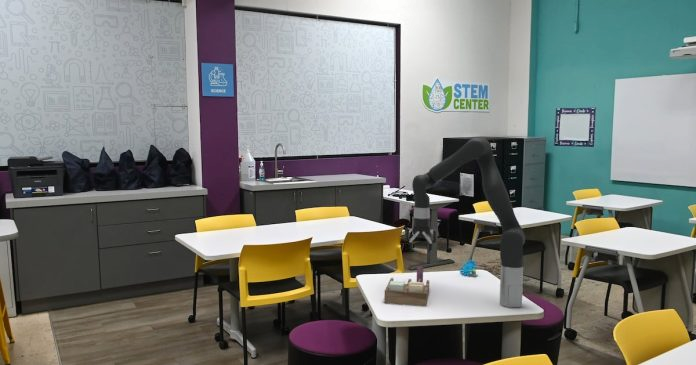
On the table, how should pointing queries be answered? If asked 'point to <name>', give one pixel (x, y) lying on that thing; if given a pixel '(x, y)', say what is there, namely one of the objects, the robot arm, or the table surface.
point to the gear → (468, 268)
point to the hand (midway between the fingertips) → (420, 250)
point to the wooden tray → (407, 295)
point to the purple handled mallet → (419, 284)
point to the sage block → (396, 286)
